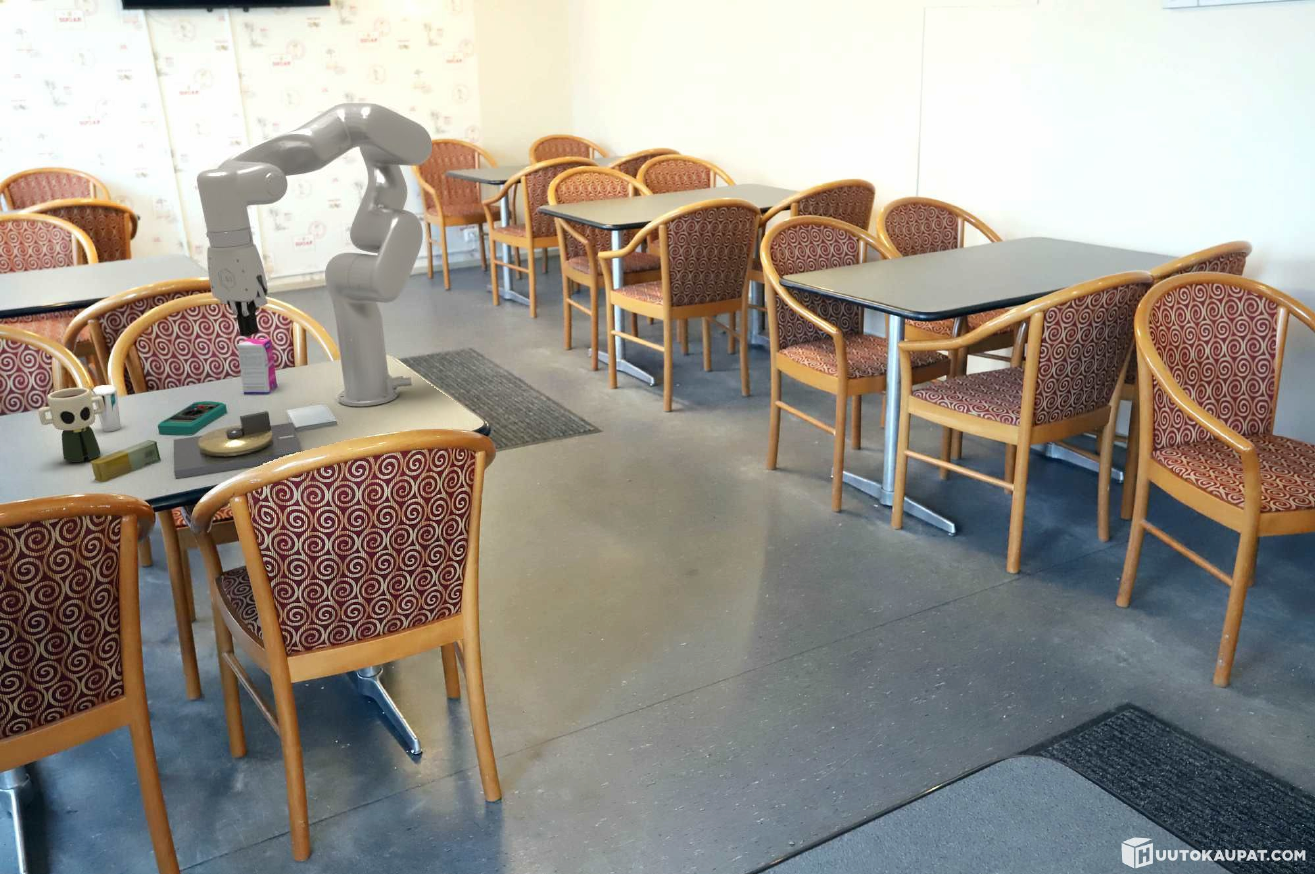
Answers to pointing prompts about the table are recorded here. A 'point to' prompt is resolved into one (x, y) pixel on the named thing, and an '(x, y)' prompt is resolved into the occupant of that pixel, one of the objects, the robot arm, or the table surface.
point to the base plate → (198, 463)
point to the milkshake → (108, 407)
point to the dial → (239, 437)
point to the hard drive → (311, 417)
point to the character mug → (74, 421)
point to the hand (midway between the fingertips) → (249, 334)
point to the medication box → (125, 461)
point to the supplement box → (257, 366)
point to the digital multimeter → (192, 418)
